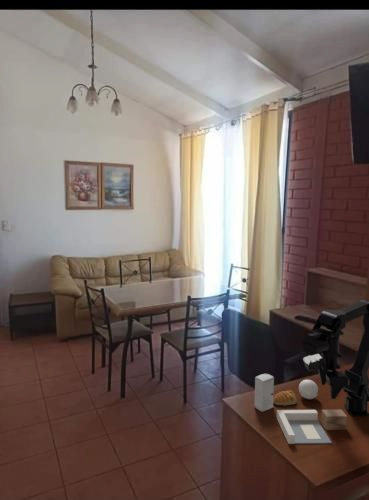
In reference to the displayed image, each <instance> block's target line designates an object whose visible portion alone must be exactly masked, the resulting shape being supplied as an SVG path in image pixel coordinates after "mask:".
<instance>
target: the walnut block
mask: <svg viewBox="0 0 369 500" xmlns="http://www.w3.org/2000/svg"><path fill="white" fill-rule="evenodd" d="M320 423H321V426H323V427H324V428H323V429H325V430H327V431H336V430H337V431H340V430H341V431H343V430H345V431H346V430H347V423H348V416H347V413H345V411H343V409H321V422H320Z"/></svg>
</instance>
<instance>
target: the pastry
mask: <svg viewBox="0 0 369 500" xmlns="http://www.w3.org/2000/svg"><path fill="white" fill-rule="evenodd" d="M297 402H298V399H297V397H296V394H295V393H294V391H293V390H290V389H288V390H285V391H284V390H282V391H279V392H277V393H276V394H273V405H274V404H275V405H277V406H284V407H285V406H292V405H296V404H297Z"/></svg>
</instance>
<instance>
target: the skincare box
mask: <svg viewBox="0 0 369 500" xmlns="http://www.w3.org/2000/svg"><path fill="white" fill-rule="evenodd" d="M274 384H275V377H274V376H273V375H271V374H269V373H263V374H262V373H261V374H259V375H257V376H255V377H254V408H256V409H257V410H258V411H260V412H262V413H263V412H265V411H267V410H271V409H273V408H274V403H273V396H274V391H275V390H274V387H275V385H274Z"/></svg>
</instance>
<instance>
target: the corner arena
mask: <svg viewBox="0 0 369 500" xmlns="http://www.w3.org/2000/svg"><path fill="white" fill-rule="evenodd" d="M318 415H319V412H318V411H317V410H316V409H276V420H277V421H278V424H279V426H280V428H281V431H282V433H283V435H284V437H285V440H286V442H287V444H288V445H292V444H293V445H296V444H297V445H308V444H311V445H312V444H313V445H314V444H325V445H326V444H333V443H332V440H331V439H330V437H329V436H328V434H327V433H326V431H325V430H324V428H323V427H322V426H323V425H322V424H320V423H321V422H319V419H318Z"/></svg>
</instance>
